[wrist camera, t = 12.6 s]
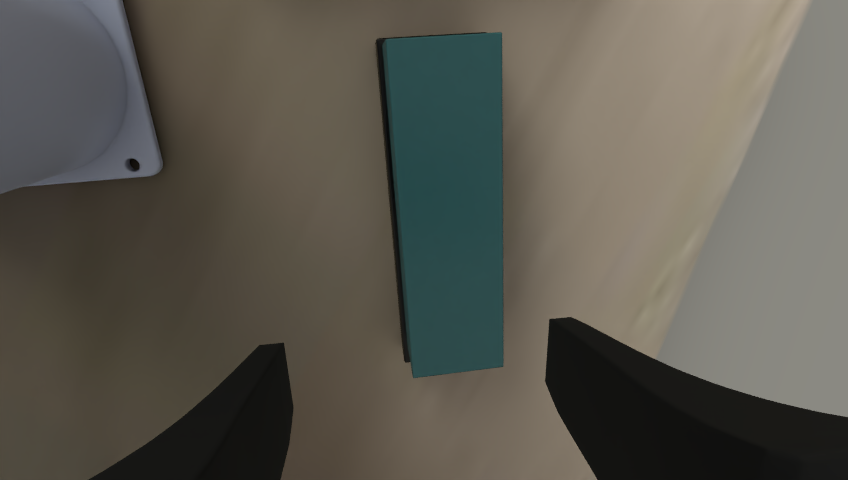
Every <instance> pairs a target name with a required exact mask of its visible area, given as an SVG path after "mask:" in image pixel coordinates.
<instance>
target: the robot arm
mask: <svg viewBox="0 0 848 480" xmlns="http://www.w3.org/2000/svg"><path fill="white" fill-rule="evenodd" d="M131 158H133V159H135V160H137V161H138V162H139V164H140V168H139V170H136V169H134V168H132V167H131V165H130V160H131ZM162 167H163V160H162V156H161V152H160V148H159V144H158V140H157V136H156V132H155V128H154V124H153V120H152V116H151V112H150V108H149V104H148V100H147V96H146V92H145V88H144V84H143V80H142V76H141V72H140V68H139V64H138V60H137V56H136V52H135V48H134V44H133V40H132V36H131V32H130V28H129V24H128V20H127V16H126V12H125V8H124V4H123V0H0V194H2V193H5V192H8V191H11V190H14V189H17V188H20V187H25V186H37V185H49V184H62V183H74V182H86V181H98V180H111V179H123V178H135V177H147V176H153V175H155V174H157V173H159V172H160V171H161V170H162ZM545 382H546V385H547V387H548V390H549V392H550V395H551V397H552V400H553V402H554V404H555V406H556V409H557V411H558V413H559V415H560V417H561V419H562V420H563V422H564V424H565V425H566V427H567V429H568V431H569V432H570V434H571V436H572V437H573V439H574V441H575V442H576V444H577V446H578V447H579V449H580V451H581V453H582V454H583V456H584V458H585V459H586V461H587V463H588V464H589V466H590V468H591V469H592V471H593V473H594V474H595V476H596V478H597V479H598V480H848V417H843V416H837V415H832V414H827V413H821V412H816V411H811V410H807V409H803V408H798V407H794V406H790V405H786V404H781V403H777V402H774V401H770V400H766V399H762V398H759V397H755V396H752V395H748V394H745V393H742V392H739V391H736V390H732V389H729V388H726V387H723V386H720V385H717V384H714V383H711V382H709V381H706V380H703V379H700V378H698V377H695V376H693V375H690V374H687V373H685V372H682V371H680V370H677V369H675V368H673V367H671V366H668V365H666V364H664V363H662V362H660V361H658V360H655V359H653V358H651V357H649V356H647V355H645V354H643V353H641V352H639V351H637V350H635V349H633V348H631V347H629V346H627V345H625V344H623V343H621V342H619V341H617V340H615V339H613V338H611V337H610V336H608V335H606V334H604V333H602V332H600V331H598V330H596V329H594V328H593V327H591V326H589V325H587V324H585V323H583V322H581V321H578V320H576V319H574V318H571V317H567V318H556V319H549V334H548V348H547V363H546V378H545ZM292 416H293V402H292V395H291V388H290V381H289V375H288V368H287V361H286V354H285V348H284V343H277V344H266V345H259V346H258V347H257V348H256V349H255V350H254V351H253V352H252V353H251V354H250V355H249V356H248V357H247V358H246V359H245V360H244V361H243V362H242V363H241V364H240V365H239V366H238V367H237V368H236V369H235V370H234V371H233V372H232V373H231V374H230V375H229V376H228V377H227V378H226V379H225V380H224V381H223V382H222V383H221V384H220V385H219V386H218V387H217V388H216V389H214V390H213V391H212V392H211V393H210V394H209V395H208V396H206V397H205V398H204V399H203V400H202V401H201V402H200V403H198V404H197V405H196V406H195V407H194V408H193V409H192V410H190V411H189V412H188V413H187V414H186V415H185V416H183V417H182V418H181V419H180V420H178V421H177V422H176V423H174V424H173V425H172V426H171V427H169V428H168V429H166V430H165V431H164V432H162V433H161V434H160V435H158V436H157V437H155V438H154V439H153V440H151V441H150V442H148V443H147V444H146V445H144V446H143V447H141V448H139V449H138V450H136V451H135V452H133V453H131V454H130V455H128V456H127V457H125V458H124V459H122V460H120V461H119V462H117V463H116V464H114V465H113V466H111V467H109V468H108V469H106V470H105V471H103V472H101V473H99V474H98V475H96V476H94V477H92V478H91V479H89V480H280V479H281V475H282V471H283V467H284V463H285V459H286V455H287V451H288V447H289V441H290V434H291V425H292Z"/></svg>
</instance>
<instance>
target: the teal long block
mask: <svg viewBox="0 0 848 480" xmlns="http://www.w3.org/2000/svg"><path fill="white" fill-rule="evenodd" d="M375 44H376V56H377V67H378V78H379V89H380V101H381V112H382V123H383V135H384V146H385V157H386V169H387V180H388V191H389V202H390V214H391V225H392V236H393V248H394V259H395V270H396V282H397V293H398V304H399V315H400V327H401V338H402V348H403V355H404V361H405V362H406V363H407V362H410V363H411V369H412V374H413V378H418V377H426V376H434V375H442V374H450V373H457V372H465V371H473V370H481V369H489V368H497V367H503V150H502V33H501V32H498V33H486V32H481V33H464V34H446V35H429V36H411V37H394V38H378V39H377V40H376V43H375Z"/></svg>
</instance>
